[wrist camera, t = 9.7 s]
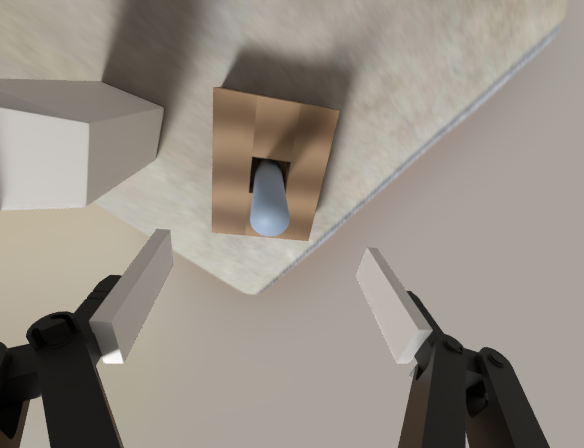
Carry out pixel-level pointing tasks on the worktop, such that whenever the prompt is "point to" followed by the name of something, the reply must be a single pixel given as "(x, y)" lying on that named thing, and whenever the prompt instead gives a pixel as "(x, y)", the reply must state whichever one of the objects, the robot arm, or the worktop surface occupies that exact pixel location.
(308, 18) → the worktop surface
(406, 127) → the worktop surface
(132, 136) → the milk carton
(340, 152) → the worktop surface
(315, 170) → the bore block
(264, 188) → the pin
